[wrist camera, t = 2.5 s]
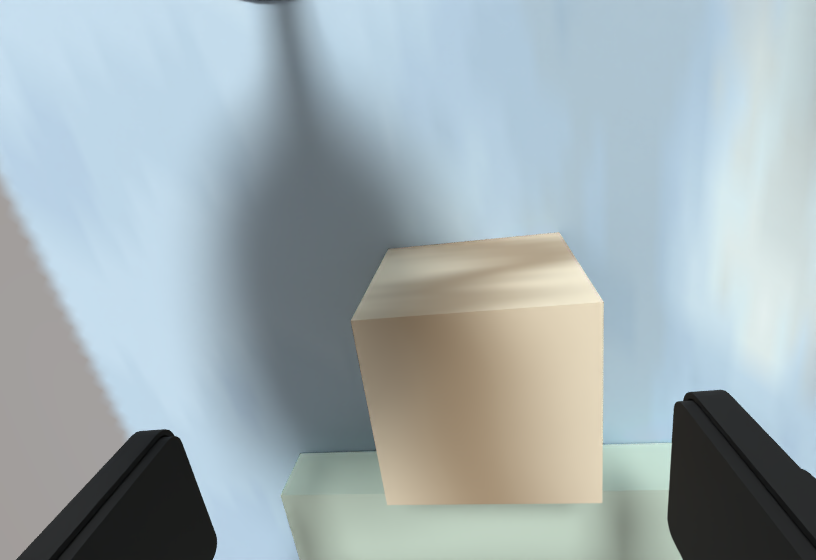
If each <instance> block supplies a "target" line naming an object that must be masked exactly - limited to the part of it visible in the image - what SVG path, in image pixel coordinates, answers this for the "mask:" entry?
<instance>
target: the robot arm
mask: <svg viewBox="0 0 816 560" xmlns="http://www.w3.org/2000/svg"><path fill="white" fill-rule="evenodd" d="M667 521H668V527H669V531H670V534H671V537H672V539H673V541H674V543H675V545H676V547H677V549H678V551H679V553H680V555H681V557H682V559H683V560H816V478H814V477H813V476H812V475H811V474H810V473H808V472H807V471H806V470H803V469H801V468H800V467H799V466H798V465H797V464H796V463H795V462H794V461H793V460H792V459H791V458H790V457H789V456H788V455H787V454H786V453H785V451H784V450H783V449H782V448H781V447H780V446H779V445H778V444H777V443H776V442H775V441H774V440H773V439H772V438H771V437H770V436H769V435H768V434H767V433H766V432H765V431H764V430H763V429H762V427H761V426H760V425H759V424H758V423H757V422H756V421H755V420H754V419H753V418H752V417H751V416H750V415H749V414H748V413H747V412H746V411H745V410H744V409H743V408H742V407H741V406H740V405H739V403H738V402H737V401H736V400H735V399H734V398H733V397H732V396H731V395H730V394H729V393H727V392H726V391H724V390H712V391H698V392H688V393H686V395H685V396H684V400H683V401H678V402H676V403H675V406H674V415H673V432H672V448H671V464H670V480H669V496H668V512H667ZM216 548H217V537H216V534H215V531H214V528H213V525H212V523H211V520H210V517H209V515H208V512H207V509H206V506H205V504H204V501H203V498H202V496H201V493H200V490H199V487H198V485H197V482H196V479H195V477H194V474H193V471H192V468H191V466H190V463H189V460H188V458H187V455H186V452H185V449H184V447H183V444H182V442H181V440H180V438H178V437H176V436H174V435H173V433H172V432H171V431H170V430H166V429H163V430H149V431H139V432H136V433H135V434H134V435H132V436H131V437H130V438H129V439H128V441H127V442H126V443H125V444H124V445H123V446H122V447H121V448H120V449H119V450H118V451H117V452H116V453H115V454H114V456H113V457H112V458H111V459H110V460H109V461H108V462H107V463H106V464H105V465H104V466H103V467H102V468H101V470H99V472H98V473H97V474H96V475H95V476H94V477H93V478H92V479H91V480H90V481H89V482H88V483H87V484H86V485H85V487H84V488H83V489H82V490H81V491H80V492H79V493H78V494H77V495H76V496H75V497H74V498H73V499H72V500H71V502H70V503H69V504H68V505H67V506H66V507H65V508H64V509H63V510H62V511H61V512H60V513H59V514H58V515H57V517H56V518H55V519H54V520H53V521H52V522H51V523H50V524H49V525H48V526H47V527H46V528H45V529H44V530H43V531H42V533H41V534H40V535H39V536H38V537H37V538H36V539H35V540H34V541H33V542H32V543H31V544H30V545H29V546H28V548H27V549H26V550H25V551H24V552H23V553H22V554H21V555H20V556H19V557H18V558H17V559H16V560H213V558H214V555H215V552H216Z"/></svg>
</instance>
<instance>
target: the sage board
mask: <svg viewBox="0 0 816 560" xmlns="http://www.w3.org/2000/svg"><path fill="white" fill-rule="evenodd" d="M671 448H672V443H644V444H609V445H603V486H602V503H571V504H457V505H387V502H386V497H385V492H384V487H383V482H382V477H381V472H380V467H379V462H378V456H377V451H365V452H330V453H300V455H299V458H298V460H297V462H296V464H295V466H294V468H293V470H292V472H291V474H290V476H289V479H288V481H287V483H286V485H285V487H284V489H283V491H282V493H281V498H282V502H283V505H284V508H285V512H286V515H287V518H288V522H289V525H290V528H291V532H292V535H293V538H294V542H295V545H296V549H297V552H298V555H299V559H300V560H683V559H682V557H681V555H680V553H679V551H678V549H677V547H676V545H675V543H674V541H673V539H672V537H671V534H670V531H669V527H668V521H667V512H668V496H669V480H670V464H671Z"/></svg>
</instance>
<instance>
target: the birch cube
mask: <svg viewBox="0 0 816 560" xmlns="http://www.w3.org/2000/svg"><path fill="white" fill-rule="evenodd" d="M603 303H604V302H603V300H602V299H601V297H600V296H599V294H598V293H597V291H596V289H595V288H594V286H593V285H592V283H591V282H590V280H589V279H588V277H587V275H586V274H585V272H584V271H583V269H582V268H581V266H580V264H579V263H578V261H577V260H576V258H575V257H574V255H573V253H572V252H571V250H570V249H569V247H568V246H567V244H566V242H565V241H564V239H563V238H562V236H561V235H560V233H559V232H557V233H547V234H537V235H526V236H516V237H506V238H496V239H485V240H475V241H465V242H454V243H444V244H434V245H423V246H413V247H403V248H393V249H388V250H387V252H386V254H385V256H384V258H383V260H382V262H381V264H380V266H379V268H378V269H377V271H376V273H375V275H374V277H373V279H372V281H371V283H370V285H369V287H368V288H367V290H366V292H365V294H364V296H363V298H362V300H361V302H360V304H359V306H358V307H357V309H356V311H355V313H354V315H353V317H352V319H351V325H352V330H353V335H354V340H355V346H356V351H357V356H358V361H359V366H360V371H361V376H362V381H363V386H364V391H365V396H366V401H367V406H368V411H369V416H370V421H371V426H372V431H373V436H374V441H375V446H376V451H377V456H378V462H379V467H380V472H381V477H382V482H383V487H384V492H385V497H386V502H387V505H457V504H571V503H602V486H603Z"/></svg>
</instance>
